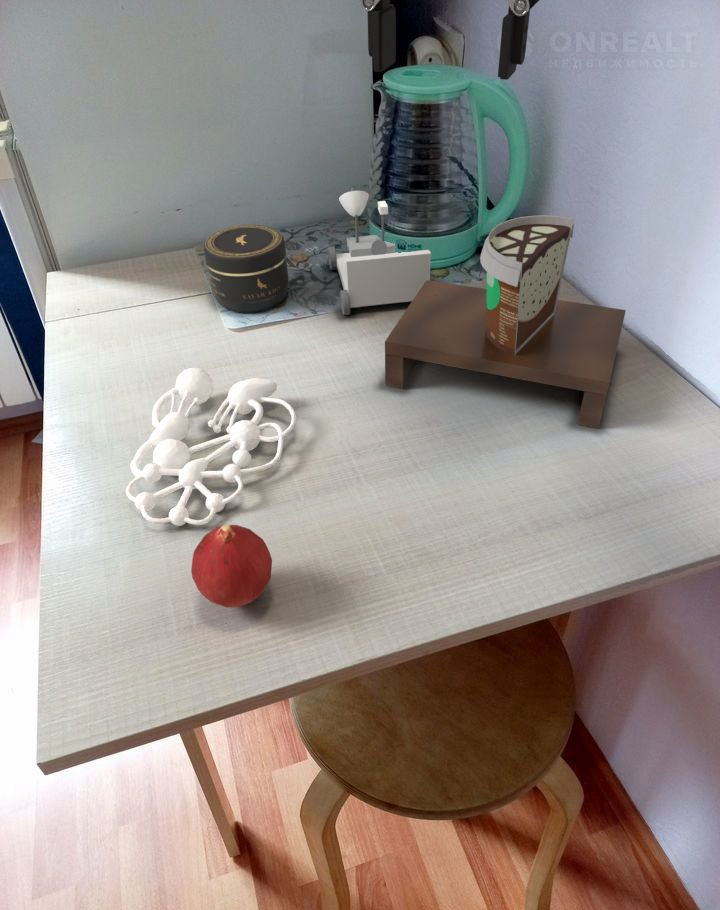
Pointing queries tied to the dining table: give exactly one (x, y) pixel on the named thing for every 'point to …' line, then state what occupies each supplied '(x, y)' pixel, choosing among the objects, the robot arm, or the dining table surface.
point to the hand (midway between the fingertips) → (444, 71)
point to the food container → (523, 276)
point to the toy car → (376, 264)
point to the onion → (231, 566)
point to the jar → (247, 267)
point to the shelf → (540, 360)
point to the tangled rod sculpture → (176, 455)
